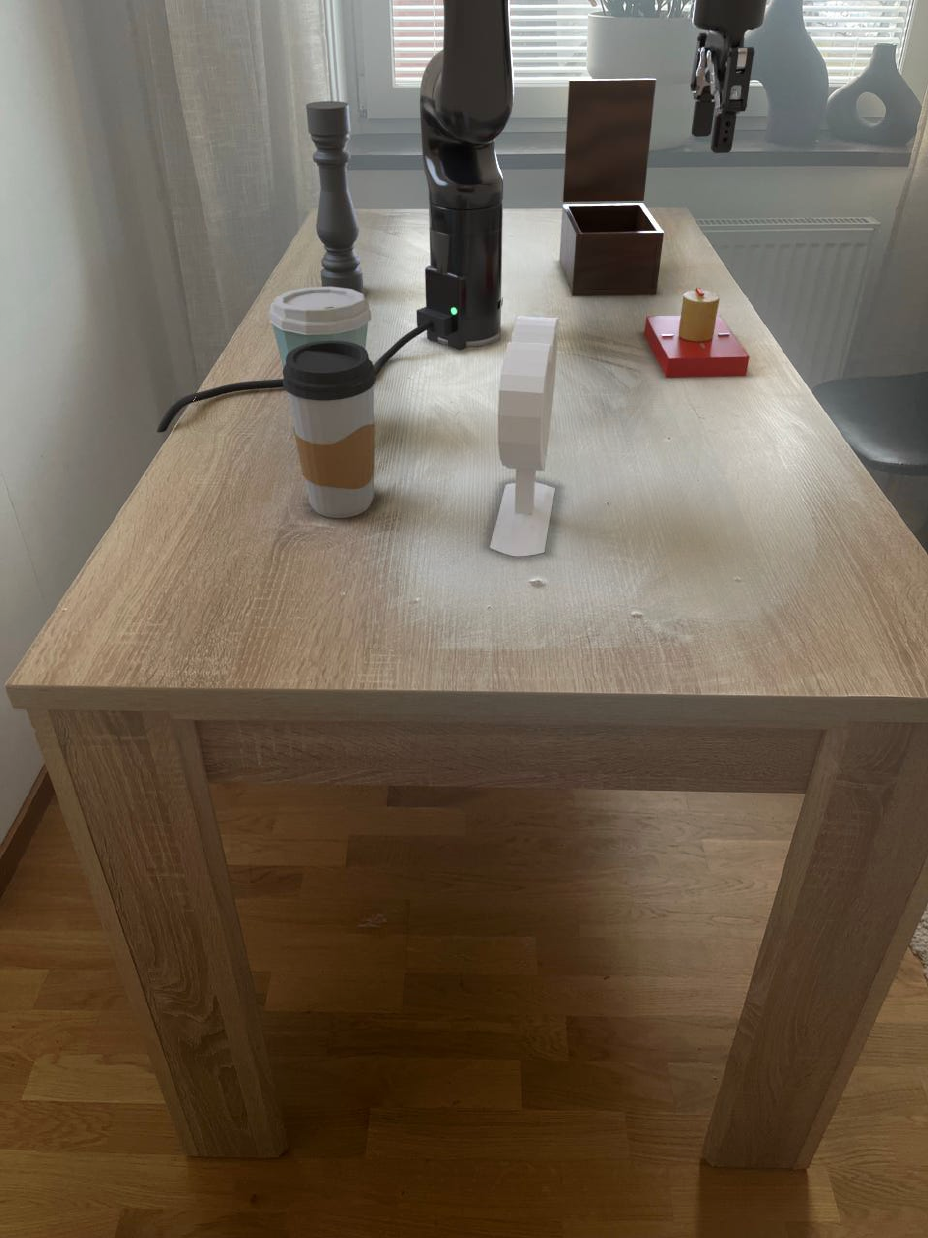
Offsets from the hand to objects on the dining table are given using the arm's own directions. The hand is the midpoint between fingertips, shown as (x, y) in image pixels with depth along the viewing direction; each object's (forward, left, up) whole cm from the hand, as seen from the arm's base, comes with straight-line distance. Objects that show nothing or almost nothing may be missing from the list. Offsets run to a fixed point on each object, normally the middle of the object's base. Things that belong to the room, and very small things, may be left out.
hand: (710, 143), depth 108 cm
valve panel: (-3, -3, -24) cm, 24 cm away
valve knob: (-3, -3, -21) cm, 22 cm away
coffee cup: (-58, +3, -24) cm, 63 cm away
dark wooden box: (+14, +23, -24) cm, 36 cm away
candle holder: (-18, +48, -24) cm, 56 cm away
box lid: (+20, +28, -6) cm, 35 cm away
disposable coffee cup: (-48, +16, -24) cm, 56 cm away
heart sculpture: (-48, -12, -24) cm, 55 cm away
